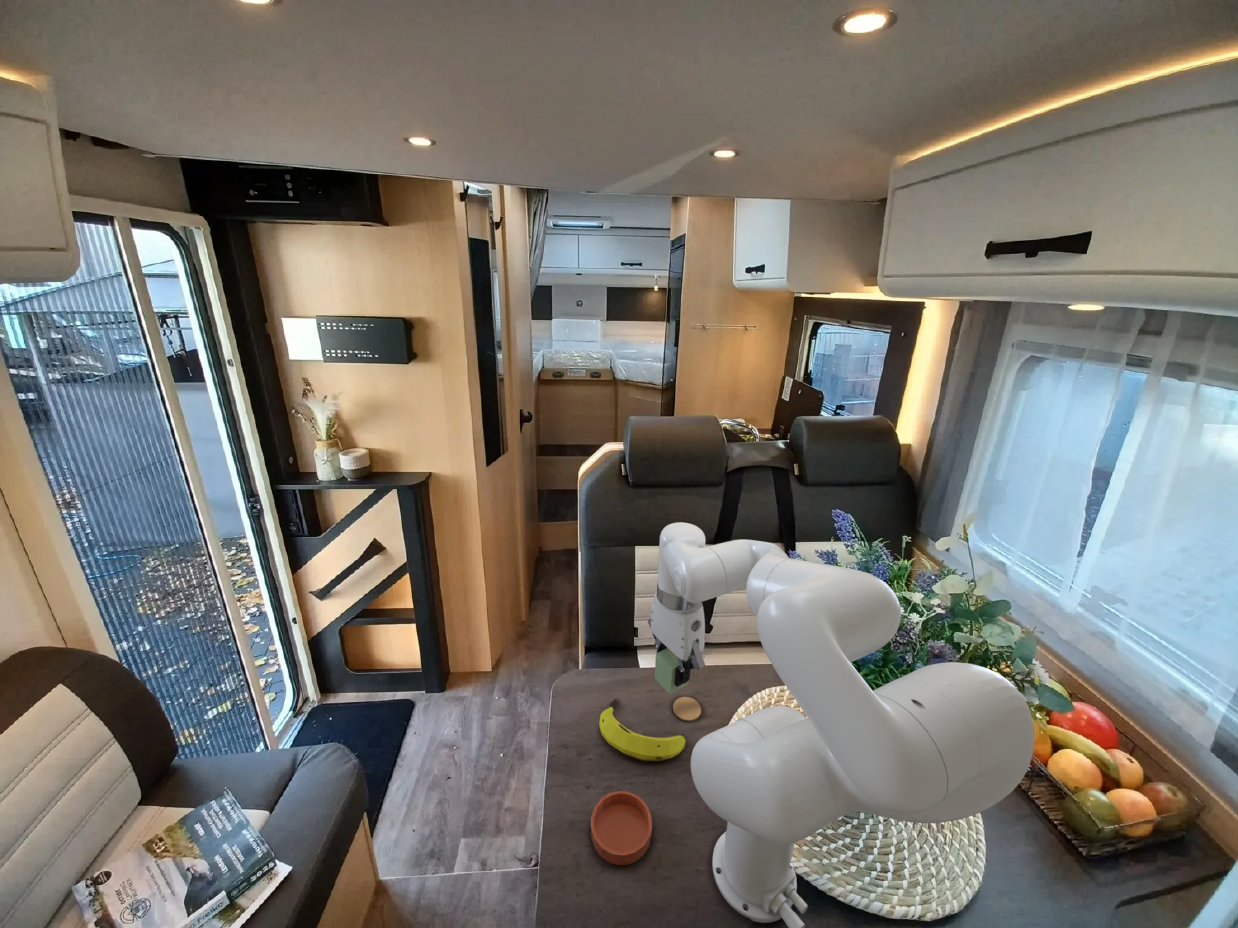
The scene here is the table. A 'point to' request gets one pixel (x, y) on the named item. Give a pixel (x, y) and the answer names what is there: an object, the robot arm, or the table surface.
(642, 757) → the banana
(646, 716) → the table surface
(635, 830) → the bowl
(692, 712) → the mat
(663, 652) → the block
